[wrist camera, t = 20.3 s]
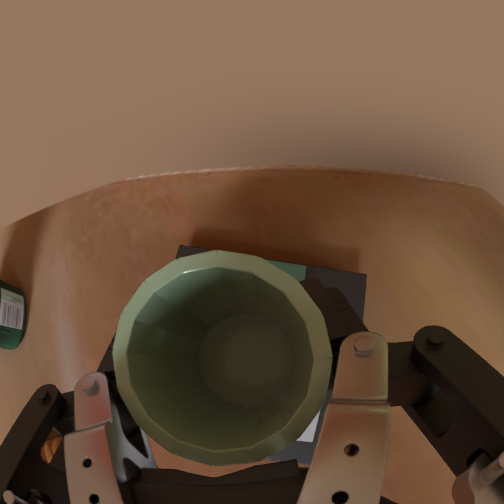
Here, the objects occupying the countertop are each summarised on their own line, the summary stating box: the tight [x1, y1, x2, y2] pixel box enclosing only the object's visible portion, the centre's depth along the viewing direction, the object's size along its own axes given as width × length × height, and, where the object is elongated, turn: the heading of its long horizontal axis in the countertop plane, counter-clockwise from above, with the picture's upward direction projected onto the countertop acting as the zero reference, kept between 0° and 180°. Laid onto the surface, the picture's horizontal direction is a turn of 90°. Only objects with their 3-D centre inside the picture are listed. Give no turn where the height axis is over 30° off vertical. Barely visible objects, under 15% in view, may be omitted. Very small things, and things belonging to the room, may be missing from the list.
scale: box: [176, 245, 367, 465], centre depth 18 cm, size 14×14×3 cm
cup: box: [112, 250, 333, 466], centre depth 10 cm, size 6×6×8 cm
